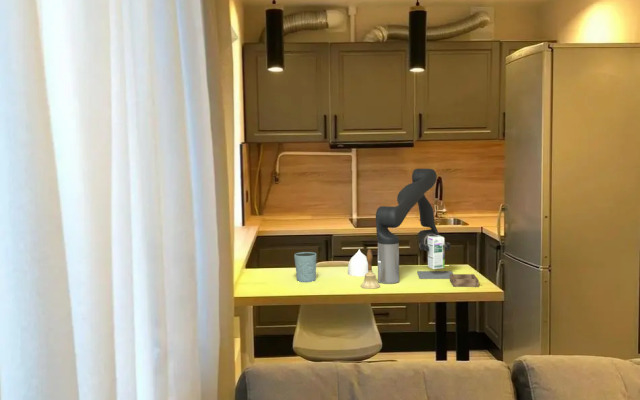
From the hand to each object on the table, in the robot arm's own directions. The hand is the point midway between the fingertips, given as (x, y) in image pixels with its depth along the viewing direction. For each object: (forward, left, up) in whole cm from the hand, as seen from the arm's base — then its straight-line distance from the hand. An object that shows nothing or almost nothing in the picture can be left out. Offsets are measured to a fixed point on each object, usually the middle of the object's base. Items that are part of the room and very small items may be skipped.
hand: (436, 249), depth 250 cm
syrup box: (0, +2, -9) cm, 9 cm away
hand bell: (-30, -18, -13) cm, 37 cm away
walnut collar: (+10, -13, -13) cm, 21 cm away
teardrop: (-35, +6, -13) cm, 38 cm away
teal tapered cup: (-59, -7, -13) cm, 61 cm away
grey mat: (0, +2, -13) cm, 13 cm away
